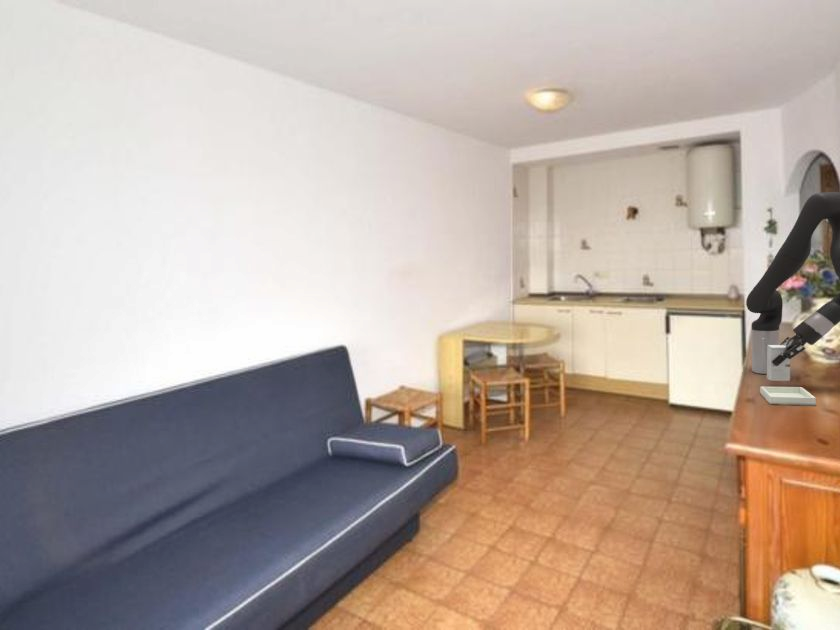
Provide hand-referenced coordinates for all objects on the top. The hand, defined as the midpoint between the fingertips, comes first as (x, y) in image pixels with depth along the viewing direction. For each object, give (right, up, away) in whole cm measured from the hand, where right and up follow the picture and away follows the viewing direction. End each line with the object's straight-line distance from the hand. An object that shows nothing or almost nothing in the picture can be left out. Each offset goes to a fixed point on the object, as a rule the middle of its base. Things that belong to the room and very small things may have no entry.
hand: (772, 362), depth 183 cm
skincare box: (+2, -6, 0) cm, 7 cm away
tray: (-4, -11, -13) cm, 17 cm away
